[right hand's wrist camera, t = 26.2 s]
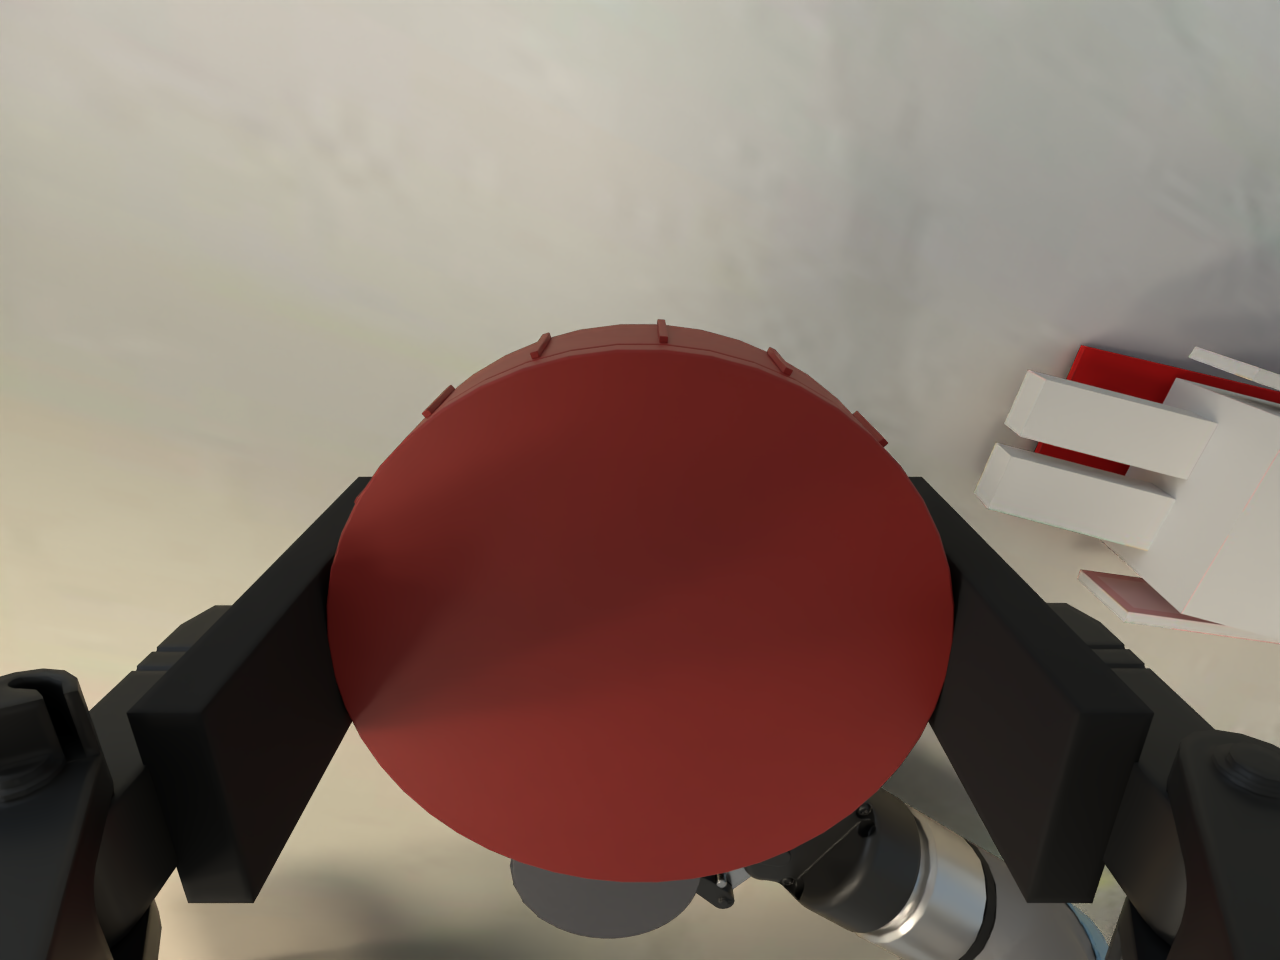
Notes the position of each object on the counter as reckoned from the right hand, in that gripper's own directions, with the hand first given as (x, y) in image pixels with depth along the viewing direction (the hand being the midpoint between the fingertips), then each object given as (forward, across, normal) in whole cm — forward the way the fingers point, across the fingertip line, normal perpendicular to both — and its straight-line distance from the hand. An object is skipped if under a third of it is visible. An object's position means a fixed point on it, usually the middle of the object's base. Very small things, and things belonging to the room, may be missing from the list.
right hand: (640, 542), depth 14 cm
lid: (-3, 0, 0) cm, 3 cm away
